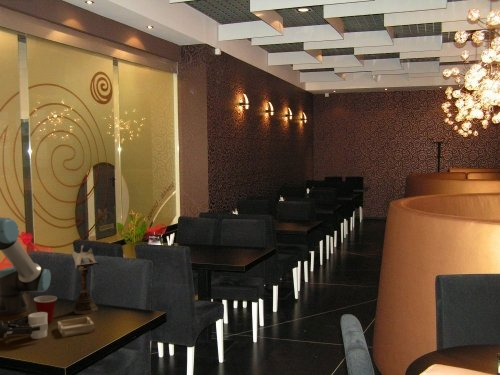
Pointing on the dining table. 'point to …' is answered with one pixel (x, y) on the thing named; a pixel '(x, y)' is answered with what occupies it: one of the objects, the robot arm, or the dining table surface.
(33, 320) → the white cup
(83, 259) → the bird statue
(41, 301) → the plastic cup
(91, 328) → the birch crate
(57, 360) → the dining table surface
